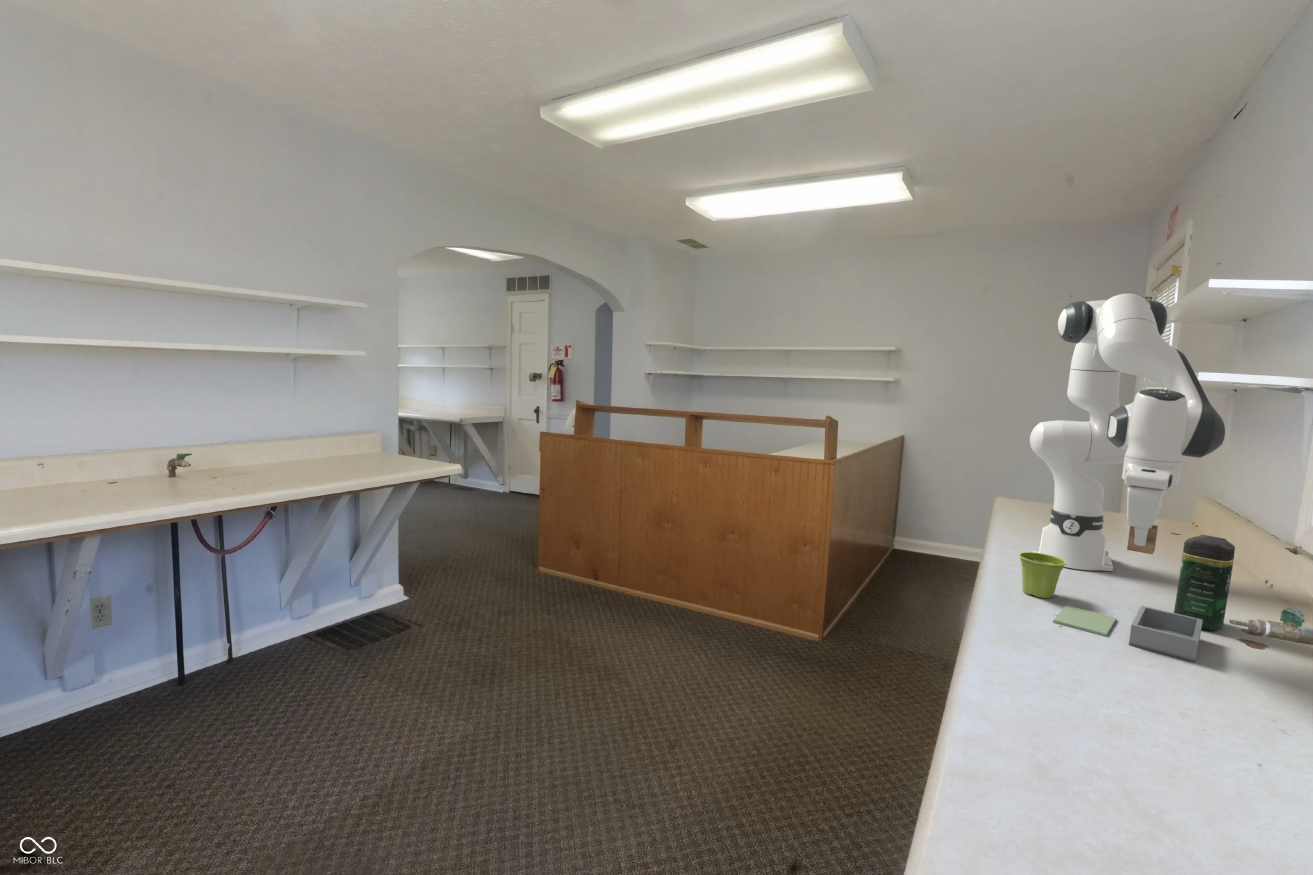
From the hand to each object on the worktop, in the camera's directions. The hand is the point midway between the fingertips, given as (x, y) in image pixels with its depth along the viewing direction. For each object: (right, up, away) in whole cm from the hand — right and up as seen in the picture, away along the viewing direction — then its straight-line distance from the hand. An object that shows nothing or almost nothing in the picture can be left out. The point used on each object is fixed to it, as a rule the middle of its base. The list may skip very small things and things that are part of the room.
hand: (1141, 542), depth 122 cm
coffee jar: (+18, -19, +8) cm, 27 cm away
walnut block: (0, -2, 0) cm, 2 cm away
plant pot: (-7, -16, +22) cm, 28 cm away
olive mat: (-6, -18, +7) cm, 20 cm away
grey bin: (+3, -19, -2) cm, 19 cm away
